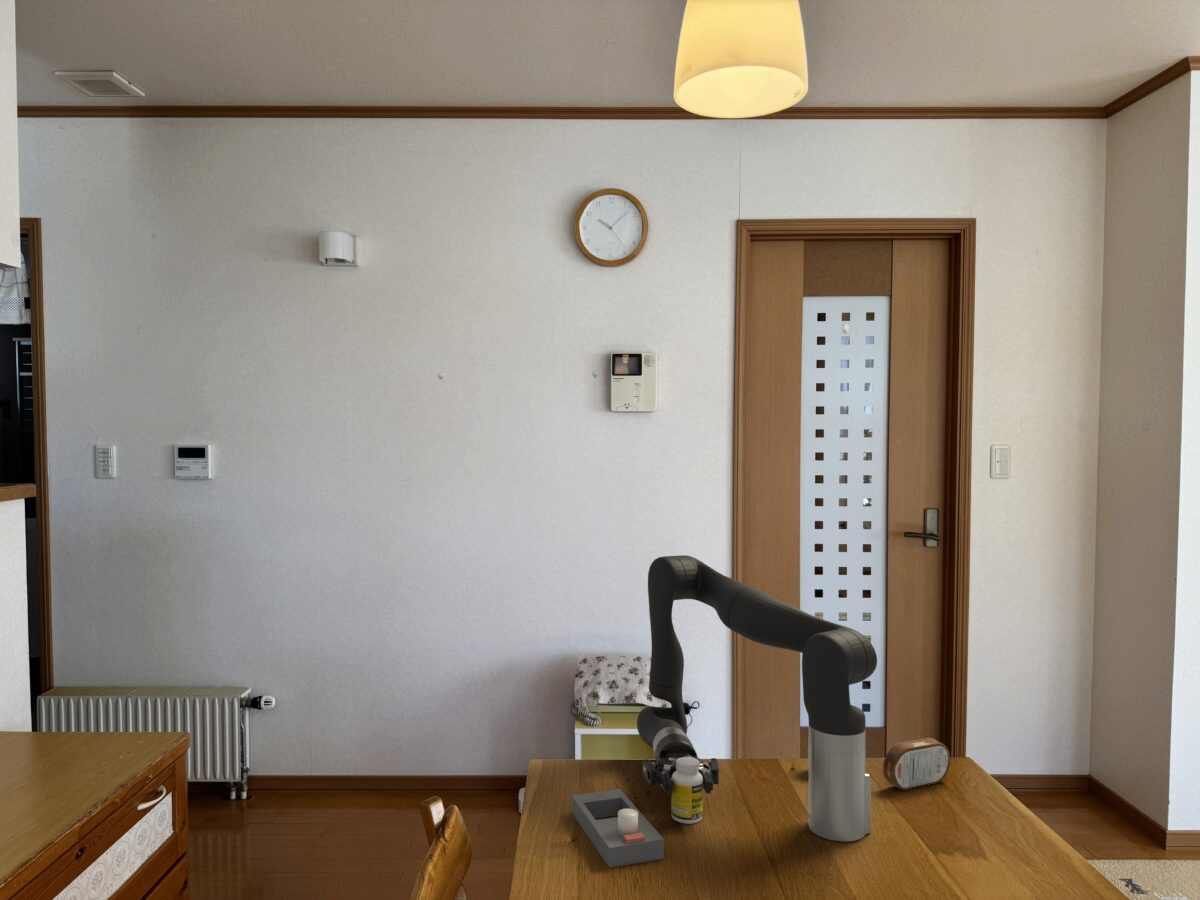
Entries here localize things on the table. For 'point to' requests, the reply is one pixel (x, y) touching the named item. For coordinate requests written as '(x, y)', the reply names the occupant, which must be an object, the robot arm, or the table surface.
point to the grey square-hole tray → (617, 828)
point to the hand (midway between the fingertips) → (689, 788)
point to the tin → (916, 763)
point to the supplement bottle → (687, 791)
